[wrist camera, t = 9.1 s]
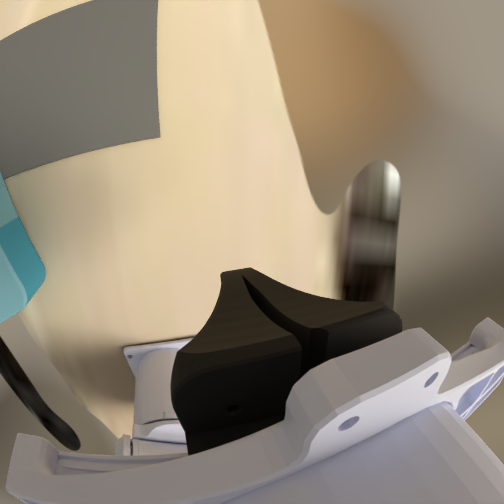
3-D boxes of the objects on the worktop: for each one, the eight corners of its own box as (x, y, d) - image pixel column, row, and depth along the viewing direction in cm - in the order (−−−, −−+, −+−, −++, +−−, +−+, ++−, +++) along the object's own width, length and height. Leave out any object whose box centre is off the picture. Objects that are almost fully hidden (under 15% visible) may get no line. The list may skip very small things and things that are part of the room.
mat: (160, 137, 18) (160, 137, 18) (-41, 199, 13) (-43, 200, 13) (158, -12, 13) (158, -14, 12) (-40, 69, 8) (-42, 69, 8)
